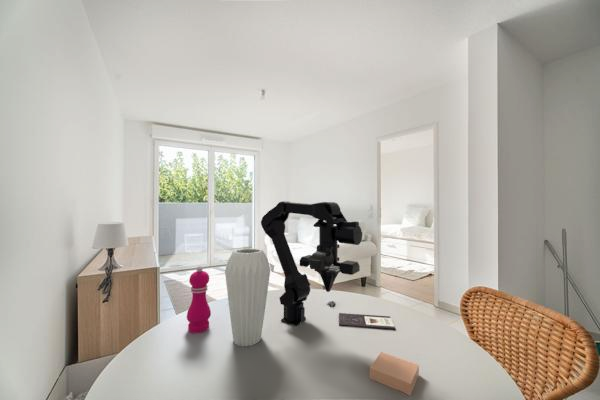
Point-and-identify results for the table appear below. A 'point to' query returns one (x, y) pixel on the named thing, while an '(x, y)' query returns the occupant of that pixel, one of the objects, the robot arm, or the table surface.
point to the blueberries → (331, 304)
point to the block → (394, 372)
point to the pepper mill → (198, 302)
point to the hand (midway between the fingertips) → (328, 291)
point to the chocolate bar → (366, 321)
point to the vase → (247, 294)
